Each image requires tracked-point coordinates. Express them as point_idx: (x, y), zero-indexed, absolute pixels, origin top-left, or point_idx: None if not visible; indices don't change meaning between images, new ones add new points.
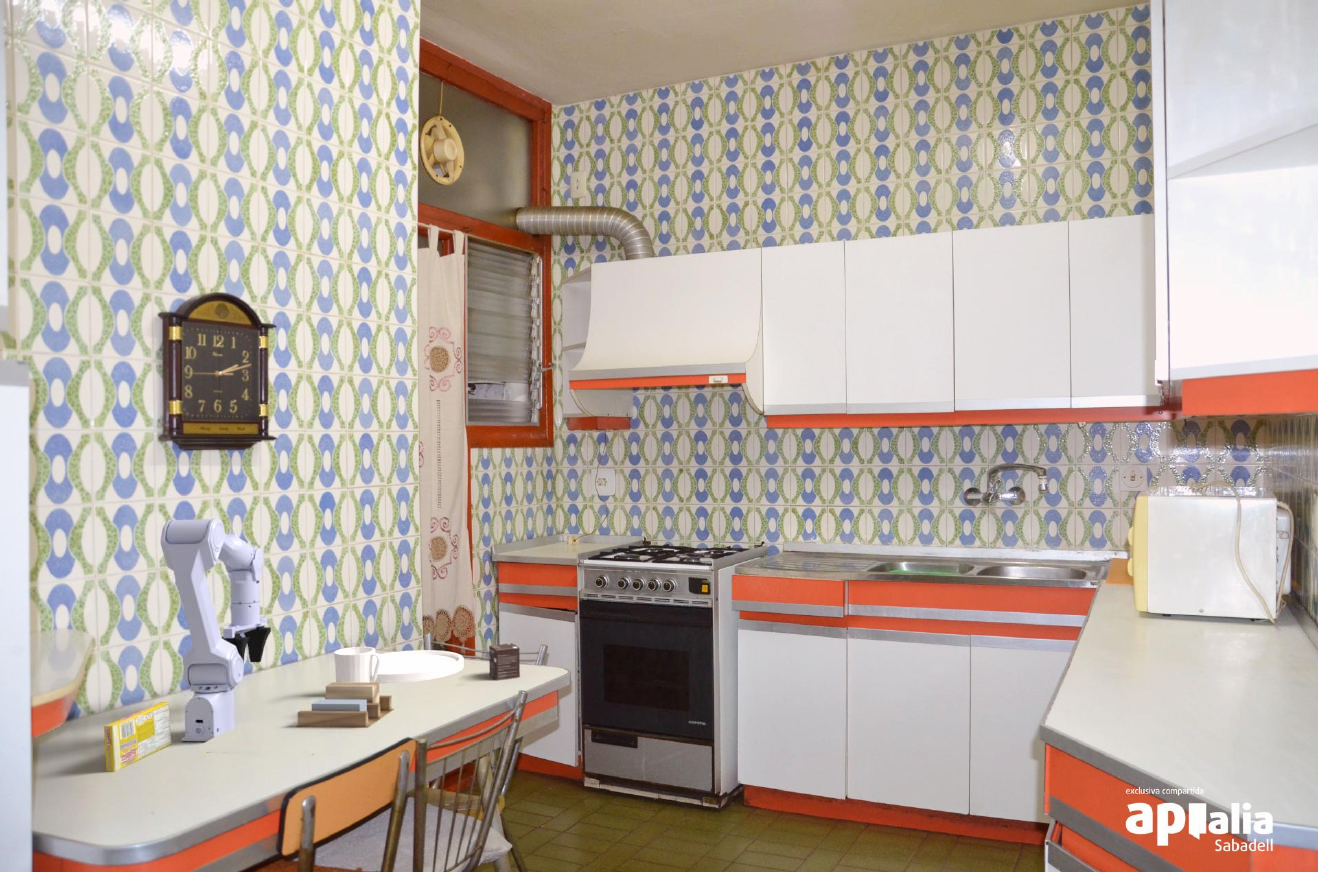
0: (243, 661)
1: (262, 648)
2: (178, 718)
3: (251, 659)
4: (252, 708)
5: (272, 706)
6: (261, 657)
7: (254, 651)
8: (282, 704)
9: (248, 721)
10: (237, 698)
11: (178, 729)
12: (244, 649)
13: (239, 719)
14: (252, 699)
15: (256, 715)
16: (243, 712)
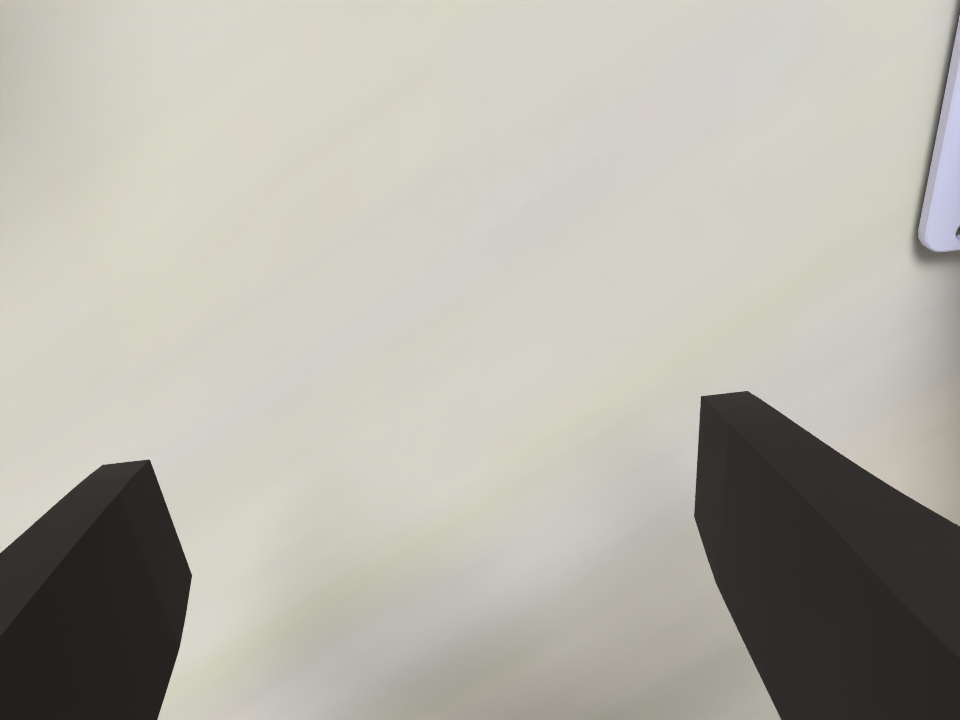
0: (777, 447)
1: (4, 603)
2: (634, 578)
3: (175, 595)
4: (294, 261)
5: (179, 116)
6: (81, 493)
7: (113, 669)
8: (78, 56)
9: (722, 12)
10: None
11: (913, 420)
12: (946, 596)
13: (654, 147)
14: (37, 436)
15: (512, 70)
16: (431, 256)
